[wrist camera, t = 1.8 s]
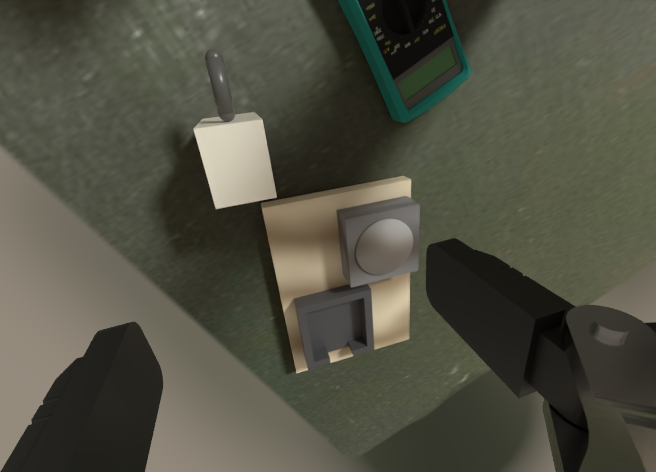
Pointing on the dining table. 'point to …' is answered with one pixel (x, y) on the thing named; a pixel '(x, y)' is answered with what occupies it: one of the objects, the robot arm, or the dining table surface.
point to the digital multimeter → (409, 51)
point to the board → (322, 260)
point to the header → (335, 322)
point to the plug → (233, 146)
